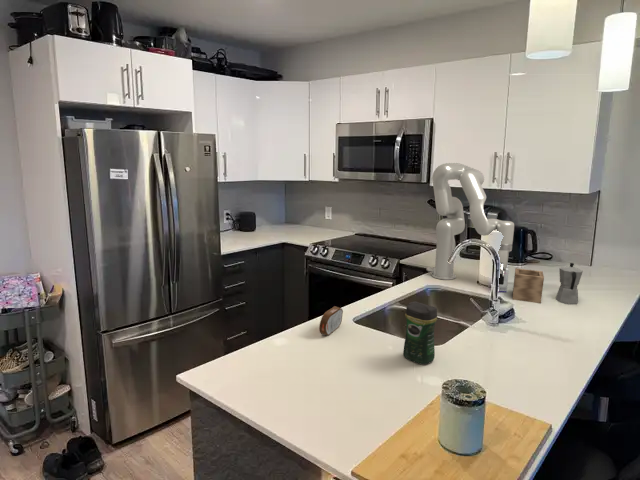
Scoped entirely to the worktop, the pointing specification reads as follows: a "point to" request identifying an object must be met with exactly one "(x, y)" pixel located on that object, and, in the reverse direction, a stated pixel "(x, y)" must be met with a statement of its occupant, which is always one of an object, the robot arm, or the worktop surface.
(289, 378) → the worktop surface
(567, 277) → the coffeepot
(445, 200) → the robot arm
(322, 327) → the tin
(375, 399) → the worktop surface
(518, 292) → the wooden box
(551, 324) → the worktop surface
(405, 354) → the coffee jar
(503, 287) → the supplement box
